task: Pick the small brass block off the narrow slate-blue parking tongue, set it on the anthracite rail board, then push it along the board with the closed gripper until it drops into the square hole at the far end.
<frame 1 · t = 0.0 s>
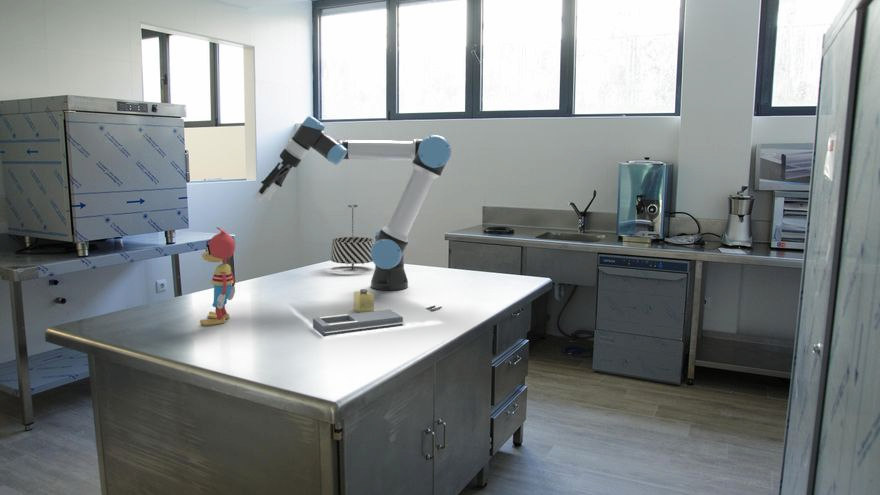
hand: (261, 198, 231), 36 cm above the countertop, tool tilted 35°, fingers open, 13 cm apart
parking tongue: (363, 314, 206), on the countertop
pendant light: (352, 269, 287), on the countertop
rail board: (358, 326, 191), on the countertop
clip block: (363, 310, 206), point 1 cm above the countertop, touching parking tongue
pliers: (418, 314, 210), on the countertop
toy: (220, 321, 195), on the countertop
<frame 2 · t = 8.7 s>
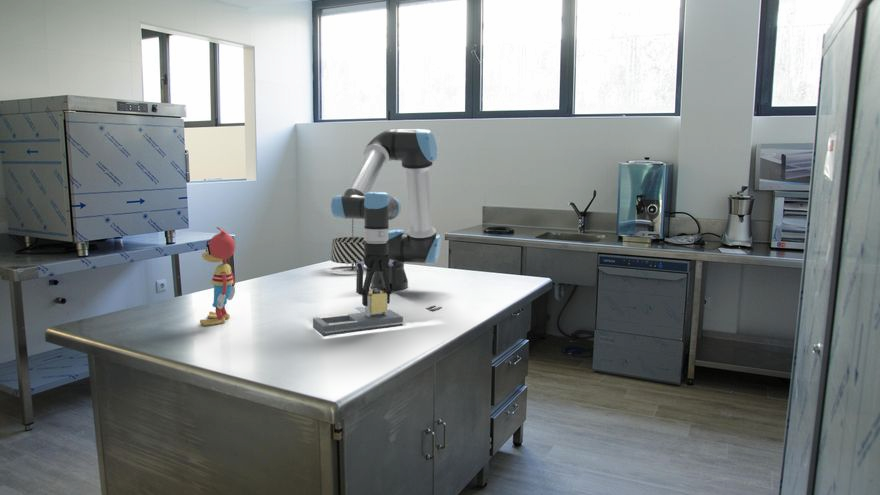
hand: (376, 314, 193), 3 cm above the countertop, tool pointing down, fingers closed on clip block, rail board, 5 cm apart
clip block: (375, 310, 193), point 4 cm above the countertop, touching gripper
everything else where it was.
when the fingers open (3 cm above the countertop, at t = 9.1 s): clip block stays where it is, resting on rail board.
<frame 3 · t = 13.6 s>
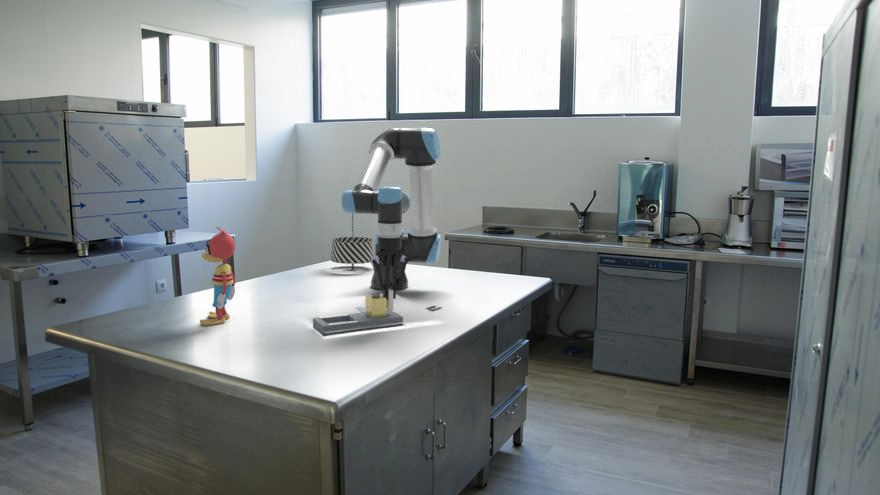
hand: (389, 309, 195), 5 cm above the countertop, tool pointing down, fingers closed
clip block: (375, 315, 194), point 3 cm above the countertop, touching gripper, rail board
everything else where it was.
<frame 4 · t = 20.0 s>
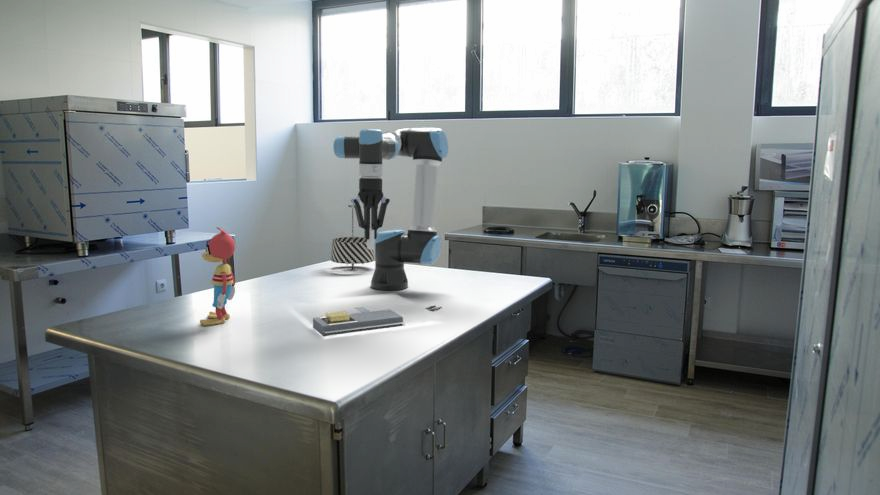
hand: (370, 248, 203), 22 cm above the countertop, tool pointing down, fingers closed
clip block: (346, 320, 189), point 2 cm above the countertop, tilted 90°
everything else where it was.
at the end: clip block inside the target area on the rail board (3.3 cm from its centre), point 2.3 cm above the rail board's base; the gripper is holding nothing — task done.
